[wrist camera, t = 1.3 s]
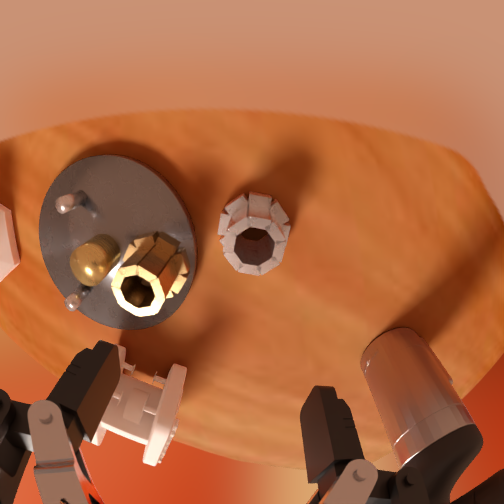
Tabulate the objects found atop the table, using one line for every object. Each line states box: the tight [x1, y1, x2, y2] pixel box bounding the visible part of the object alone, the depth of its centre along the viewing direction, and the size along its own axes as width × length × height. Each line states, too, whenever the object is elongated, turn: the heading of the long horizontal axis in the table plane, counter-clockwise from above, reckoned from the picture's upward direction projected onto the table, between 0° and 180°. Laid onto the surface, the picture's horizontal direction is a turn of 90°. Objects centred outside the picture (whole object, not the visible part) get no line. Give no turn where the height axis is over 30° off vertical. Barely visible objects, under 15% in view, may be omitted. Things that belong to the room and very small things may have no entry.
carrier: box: [39, 155, 197, 330], centre depth 25 cm, size 20×20×6 cm
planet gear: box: [218, 191, 291, 276], centre depth 24 cm, size 6×6×6 cm
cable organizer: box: [91, 344, 187, 466], centre depth 30 cm, size 15×11×12 cm
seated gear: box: [111, 231, 191, 316], centre depth 24 cm, size 6×6×6 cm
